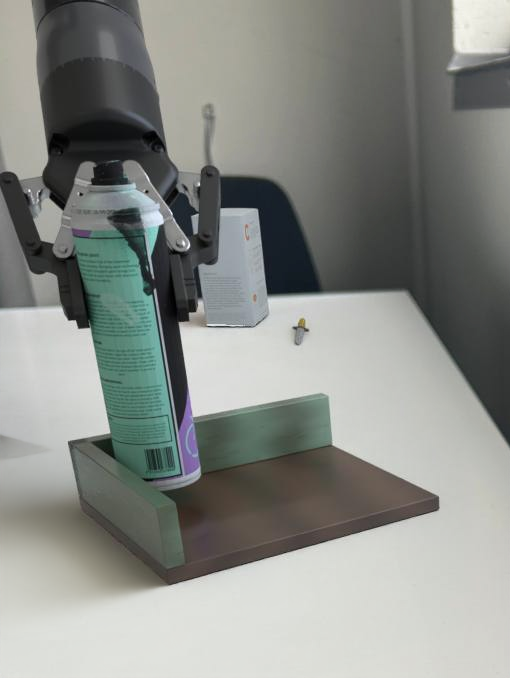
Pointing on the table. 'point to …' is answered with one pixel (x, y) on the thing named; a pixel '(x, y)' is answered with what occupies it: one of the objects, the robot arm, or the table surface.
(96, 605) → the table surface
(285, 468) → the corner board
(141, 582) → the table surface
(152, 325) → the spray can
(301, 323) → the dagger
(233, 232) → the small box
